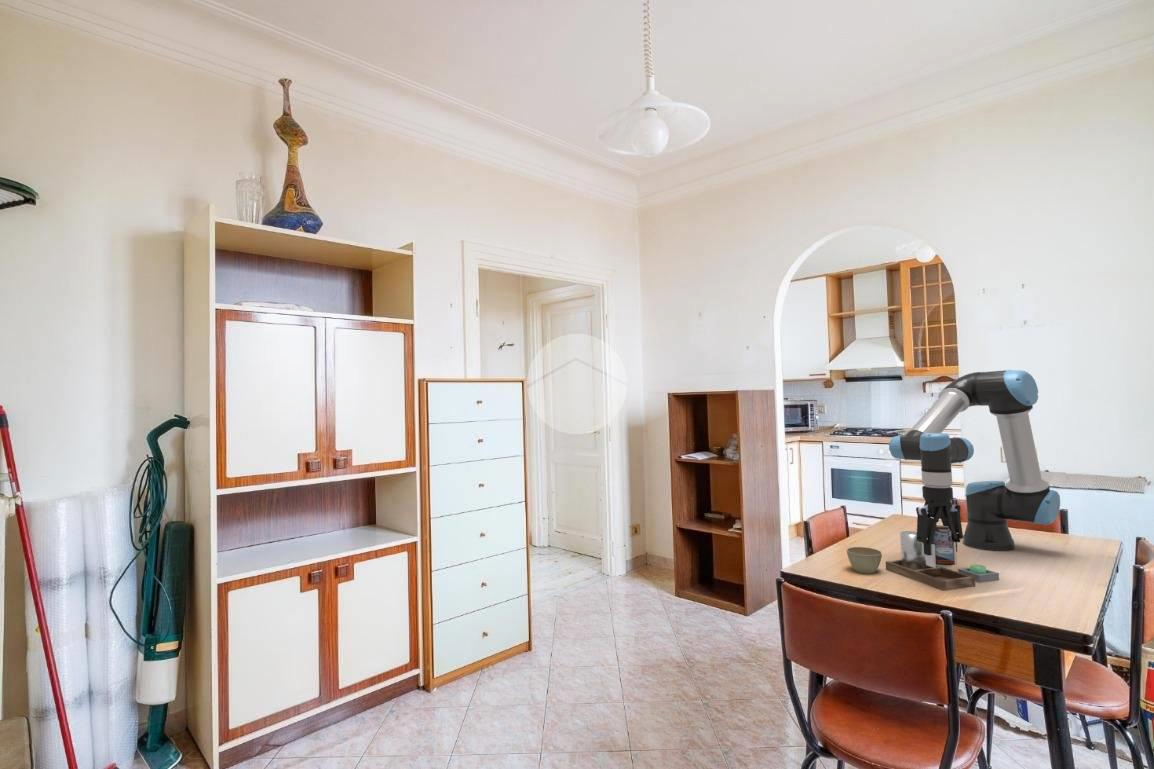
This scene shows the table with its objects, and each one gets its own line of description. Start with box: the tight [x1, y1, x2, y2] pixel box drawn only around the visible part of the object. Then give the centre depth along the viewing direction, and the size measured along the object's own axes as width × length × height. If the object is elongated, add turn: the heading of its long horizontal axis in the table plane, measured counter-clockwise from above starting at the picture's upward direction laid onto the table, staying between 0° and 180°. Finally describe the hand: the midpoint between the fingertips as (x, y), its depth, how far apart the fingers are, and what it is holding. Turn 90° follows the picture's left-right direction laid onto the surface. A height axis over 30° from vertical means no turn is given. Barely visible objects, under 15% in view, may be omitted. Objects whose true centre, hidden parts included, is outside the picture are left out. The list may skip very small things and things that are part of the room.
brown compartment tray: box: [885, 559, 976, 592], centre depth 168 cm, size 11×21×4 cm, turn 13°
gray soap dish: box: [957, 566, 1000, 583], centre depth 166 cm, size 7×7×3 cm
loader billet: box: [899, 530, 927, 570], centre depth 173 cm, size 7×7×12 cm
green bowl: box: [846, 546, 883, 574], centre depth 177 cm, size 10×10×7 cm
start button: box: [969, 564, 987, 574], centre depth 166 cm, size 4×4×3 cm
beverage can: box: [927, 524, 955, 568], centre depth 163 cm, size 6×7×12 cm
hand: (941, 564), depth 163 cm, fingers closed on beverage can, 7 cm apart
